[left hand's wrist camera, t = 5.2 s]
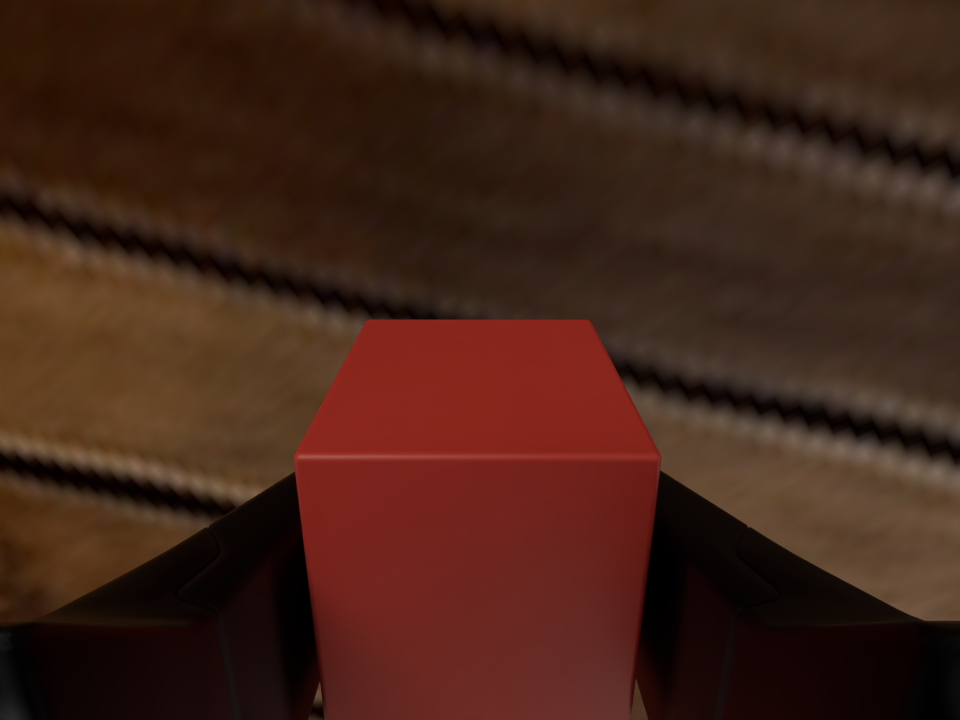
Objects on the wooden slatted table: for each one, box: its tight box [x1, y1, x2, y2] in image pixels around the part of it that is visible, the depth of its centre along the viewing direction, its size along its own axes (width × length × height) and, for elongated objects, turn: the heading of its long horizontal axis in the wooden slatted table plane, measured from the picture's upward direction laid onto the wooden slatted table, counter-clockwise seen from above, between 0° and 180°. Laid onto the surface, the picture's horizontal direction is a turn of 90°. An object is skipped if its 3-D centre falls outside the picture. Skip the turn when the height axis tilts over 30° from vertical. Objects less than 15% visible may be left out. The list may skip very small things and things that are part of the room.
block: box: [294, 320, 661, 720], centre depth 10 cm, size 4×5×5 cm
